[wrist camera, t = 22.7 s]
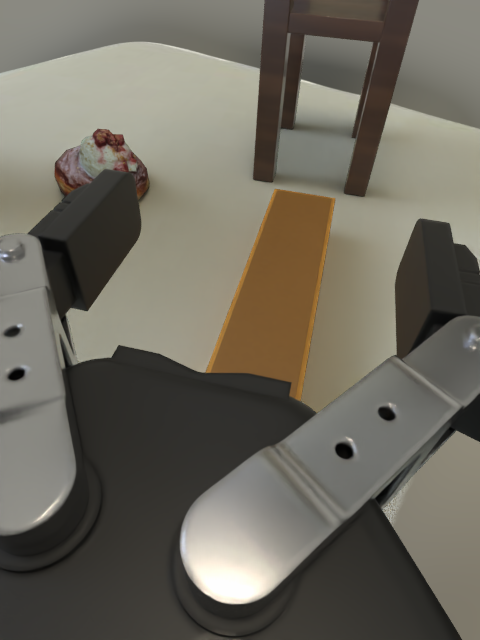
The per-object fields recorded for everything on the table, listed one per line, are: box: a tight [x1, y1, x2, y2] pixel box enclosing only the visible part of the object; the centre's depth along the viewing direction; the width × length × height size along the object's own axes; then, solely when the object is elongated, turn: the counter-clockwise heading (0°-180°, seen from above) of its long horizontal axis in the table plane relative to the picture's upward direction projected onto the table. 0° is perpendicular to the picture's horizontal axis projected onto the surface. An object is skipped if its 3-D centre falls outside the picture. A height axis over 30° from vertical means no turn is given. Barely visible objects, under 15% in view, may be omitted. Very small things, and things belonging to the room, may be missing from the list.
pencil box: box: [206, 189, 335, 401], centre depth 25 cm, size 22×4×3 cm, turn 166°
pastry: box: [55, 129, 149, 200], centre depth 35 cm, size 8×8×5 cm
